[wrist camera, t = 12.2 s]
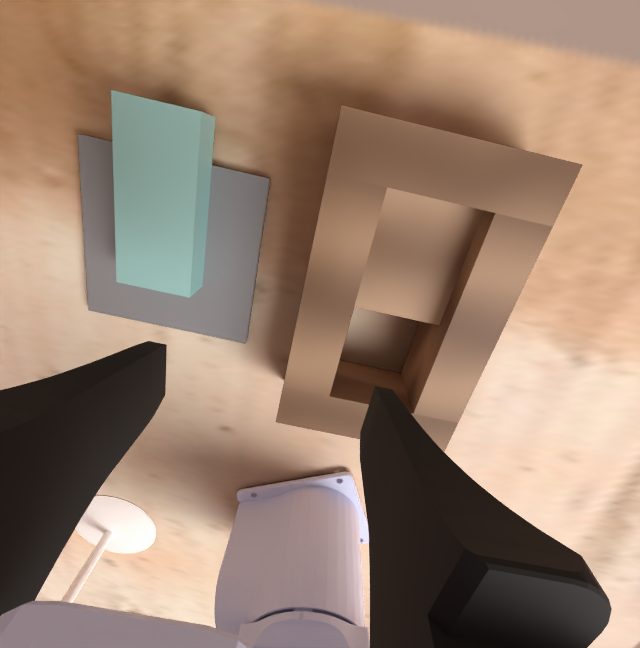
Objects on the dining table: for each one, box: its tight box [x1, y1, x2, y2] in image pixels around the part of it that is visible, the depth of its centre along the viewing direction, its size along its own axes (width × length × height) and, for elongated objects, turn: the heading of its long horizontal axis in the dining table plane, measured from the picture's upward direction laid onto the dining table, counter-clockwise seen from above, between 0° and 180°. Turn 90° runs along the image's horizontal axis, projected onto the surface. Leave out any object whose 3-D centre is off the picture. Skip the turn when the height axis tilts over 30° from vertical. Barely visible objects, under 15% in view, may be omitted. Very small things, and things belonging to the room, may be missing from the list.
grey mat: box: [77, 134, 271, 343], centre depth 20 cm, size 10×10×1 cm
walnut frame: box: [276, 105, 582, 452], centre depth 19 cm, size 16×10×4 cm, turn 168°
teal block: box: [111, 90, 216, 298], centre depth 18 cm, size 9×4×2 cm, turn 168°
